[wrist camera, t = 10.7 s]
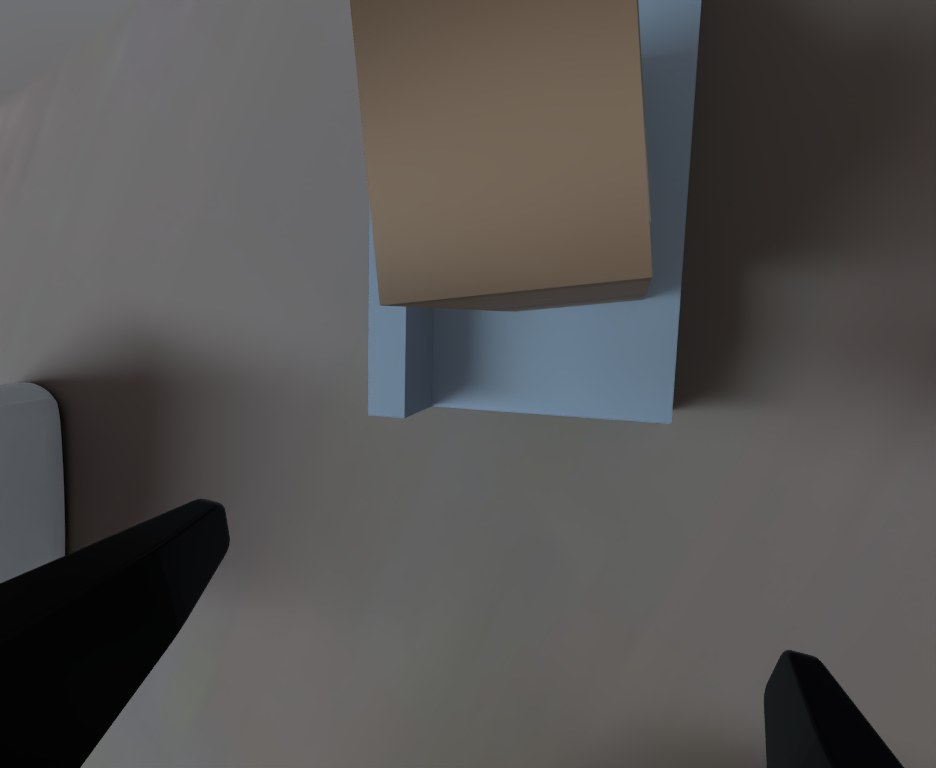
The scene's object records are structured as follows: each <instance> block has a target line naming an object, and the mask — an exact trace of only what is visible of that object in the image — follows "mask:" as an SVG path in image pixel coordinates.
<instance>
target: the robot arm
mask: <svg viewBox="0 0 936 768" xmlns="http://www.w3.org/2000/svg"><path fill="white" fill-rule="evenodd" d="M229 542H230V536H229V530H228V524H227V518H226V512H225V508H224V507H223V505H222V504H220V503H218V502H214V501H210V500H206V499H197V500H194V501H192V502H189V503H187V504H185V505H182V506H180V507H178V508H175V509H173V510H171V511H168V512H166V513H164V514H161V515H159V516H157V517H154V518H152V519H150V520H147V521H145V522H143V523H140V524H138V525H136V526H133V527H131V528H128V529H126V530H124V531H121V532H119V533H117V534H114V535H112V536H110V537H107V538H105V539H103V540H100V541H98V542H96V543H93V544H91V545H89V546H86V547H84V548H82V549H79V550H77V551H75V552H72V553H70V554H68V555H65V556H63V557H61V558H58V559H56V560H54V561H51V562H49V563H47V564H44V565H42V566H39V567H37V568H35V569H32V570H30V571H28V572H25V573H23V574H21V575H18V576H16V577H14V578H11V579H9V580H7V581H4V582H2V583H0V768H80V767H81V766H82V765H83V763H84V762H85V760H86V759H87V758H88V756H89V755H90V754H91V752H92V751H93V749H94V748H95V747H96V745H97V744H98V743H99V741H100V740H101V739H102V737H103V736H104V734H105V733H106V732H107V730H108V729H109V728H110V726H111V725H112V723H113V722H114V721H115V719H116V718H117V717H118V715H119V714H120V713H121V711H122V710H123V708H124V707H125V706H126V704H127V703H128V702H129V700H130V699H131V697H132V696H133V695H134V693H135V692H136V691H137V689H138V688H139V687H140V685H141V684H142V682H143V681H144V680H145V678H146V677H147V676H148V674H149V673H150V671H151V670H152V669H153V667H154V666H155V665H156V663H157V662H158V661H159V659H160V658H161V656H162V655H163V654H164V652H165V651H166V650H167V648H168V647H169V645H170V644H171V643H172V641H173V640H174V638H175V637H176V635H177V634H178V633H179V631H180V630H181V628H182V626H183V625H184V623H185V622H186V620H187V619H188V617H189V615H190V613H191V612H192V610H193V608H194V607H195V605H196V603H197V602H198V600H199V598H200V597H201V595H202V593H203V592H204V590H205V588H206V587H207V585H208V583H209V581H210V580H211V578H212V576H213V575H214V573H215V571H216V570H217V568H218V566H219V565H220V563H221V561H222V560H223V558H224V556H225V554H226V552H227V550H228V547H229ZM764 715H765V737H766V758H767V768H904V767H903V766H902V764H901V763H900V762H899V760H898V759H897V758H896V757H895V755H894V754H893V753H892V751H891V750H890V749H889V748H888V746H887V745H886V744H885V742H884V741H883V740H882V739H881V737H880V736H879V735H878V734H877V732H876V731H875V730H874V728H873V727H872V726H871V725H870V723H869V722H868V721H867V719H866V718H865V717H864V716H863V714H862V713H861V712H860V710H859V709H858V708H857V707H856V705H855V704H854V703H853V701H852V700H851V699H850V698H849V696H848V695H847V694H846V692H845V691H844V690H843V689H842V687H841V686H840V685H839V684H838V682H837V681H836V680H835V678H834V677H833V676H832V675H831V673H830V672H829V671H828V669H827V668H826V667H825V666H824V664H823V663H822V662H821V661H820V660H819V659H818V658H816V657H814V656H811V655H808V654H804V653H800V652H796V651H792V650H786V651H784V652H783V653H782V655H781V656H780V658H779V660H778V662H777V664H776V666H775V668H774V670H773V672H772V674H771V676H770V678H769V680H768V682H767V685H766V688H765V693H764Z"/></svg>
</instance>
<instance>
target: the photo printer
mask: <svg viewBox="0 0 936 768" xmlns="http://www.w3.org/2000/svg"><path fill="white" fill-rule="evenodd" d="M63 556H65V505H64V477H63V456H62V438H61V426H60V416H59V410H58V404H57V402H56V400H55V399H54V398H53V396H52V395H51V394H50V393H49V392H48V391H47V390H46V389H44V388H42V387H41V386H39V385H36V384H33V383H26V382H22V383H12V384H4V385H0V583H2V582H4V581H7V580H9V579H11V578H14V577H16V576H18V575H21V574H23V573H25V572H28V571H30V570H32V569H35V568H37V567H39V566H42V565H44V564H47V563H49V562H51V561H54V560H56V559H58V558H61V557H63Z"/></svg>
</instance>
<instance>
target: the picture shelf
mask: <svg viewBox="0 0 936 768" xmlns="http://www.w3.org/2000/svg"><path fill="white" fill-rule="evenodd" d="M701 1H702V0H638V4H639V22H640V40H641V57H642V75H643V92H644V110H645V127H646V145H647V163H648V180H649V198H650V215H651V222H650V242H651V259H652V280H651V282H650V285H649V287H648V290H647V292H646V295H645V297H644V300H636V301H625V302H614V303H604V304H593V305H582V306H572V307H561V308H550V309H540V310H529V311H518V312H508V311H486V310H465V309H444V308H422V307H401V306H380V302H379V292H378V282H377V272H376V261H375V251H374V241H373V231H372V220H371V210H370V234H369V357H368V415H373V416H386V417H398V418H406V417H408V416H410V415H412V414H415V413H417V412H419V411H422V410H424V409H426V408H429V407H431V406H437V407H450V408H464V409H477V410H491V411H504V412H518V413H531V414H545V415H558V416H572V417H585V418H599V419H612V420H626V421H639V422H653V423H666V424H672V409H673V395H674V381H675V367H676V353H677V339H678V325H679V311H680V297H681V283H682V269H683V254H684V240H685V226H686V212H687V198H688V184H689V170H690V156H691V142H692V128H693V114H694V99H695V85H696V71H697V57H698V43H699V29H700V15H701Z"/></svg>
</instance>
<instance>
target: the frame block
mask: <svg viewBox="0 0 936 768" xmlns="http://www.w3.org/2000/svg"><path fill="white" fill-rule="evenodd" d="M350 6H351V16H352V26H353V36H354V46H355V57H356V67H357V77H358V87H359V98H360V108H361V118H362V128H363V139H364V149H365V159H366V169H367V179H368V190H369V200H370V210H371V220H372V231H373V241H374V251H375V261H376V272H377V282H378V292H379V302H380V306H401V307H422V308H444V309H465V310H486V311H508V312H518V311H529V310H540V309H550V308H561V307H572V306H582V305H593V304H604V303H614V302H625V301H636V300H644V297H645V295H646V292H647V290H648V287H649V285H650V282H651V280H652V259H651V242H650V222H651V215H650V198H649V180H648V163H647V145H646V127H645V110H644V92H643V75H642V57H641V40H640V22H639V4H638V0H350Z"/></svg>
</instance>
